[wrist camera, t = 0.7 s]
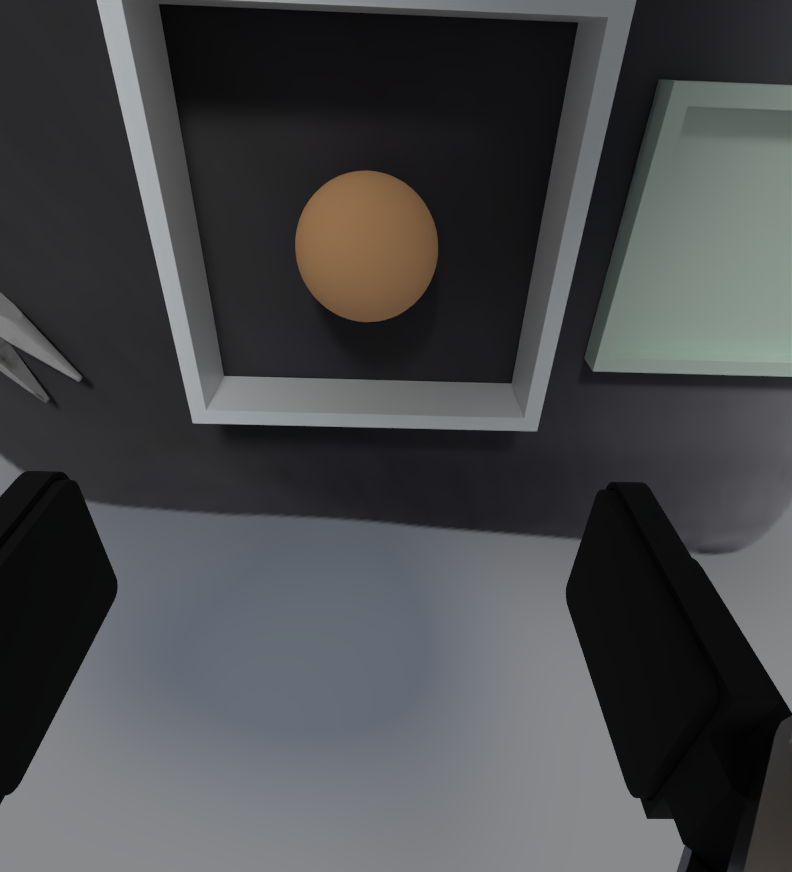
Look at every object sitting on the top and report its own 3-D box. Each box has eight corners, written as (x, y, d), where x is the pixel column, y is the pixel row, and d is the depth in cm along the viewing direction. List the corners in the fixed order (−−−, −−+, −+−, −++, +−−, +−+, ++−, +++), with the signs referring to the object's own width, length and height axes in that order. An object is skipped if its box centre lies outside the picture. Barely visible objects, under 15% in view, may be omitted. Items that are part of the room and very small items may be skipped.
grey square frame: (131, -25, 20) (87, -39, 17) (604, -4, 20) (639, -14, 17) (211, 388, 30) (192, 423, 27) (523, 396, 30) (537, 431, 27)
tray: (658, 79, 22) (674, 80, 20) (960, 91, 22) (993, 93, 21) (584, 358, 29) (592, 371, 28) (811, 364, 29) (829, 377, 28)
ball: (301, 156, 23) (276, 184, 18) (438, 161, 23) (451, 190, 18) (309, 290, 27) (290, 343, 22) (428, 294, 27) (437, 347, 22)
